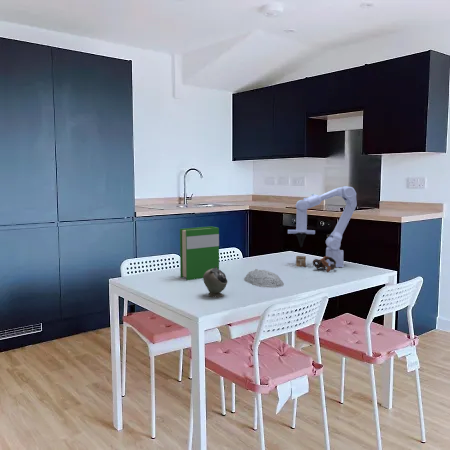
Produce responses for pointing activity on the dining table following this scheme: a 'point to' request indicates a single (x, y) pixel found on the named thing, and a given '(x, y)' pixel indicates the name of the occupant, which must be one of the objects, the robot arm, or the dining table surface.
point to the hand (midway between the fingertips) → (301, 247)
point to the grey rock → (263, 279)
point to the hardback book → (198, 251)
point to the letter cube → (300, 261)
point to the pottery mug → (325, 263)
